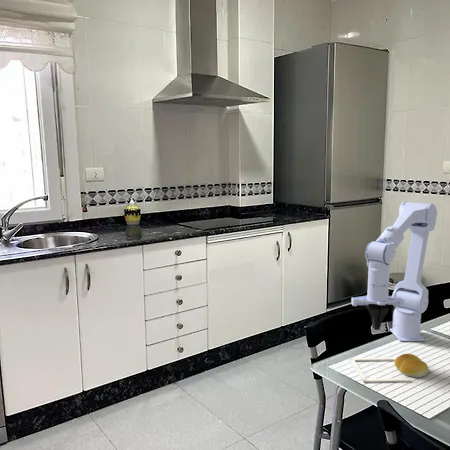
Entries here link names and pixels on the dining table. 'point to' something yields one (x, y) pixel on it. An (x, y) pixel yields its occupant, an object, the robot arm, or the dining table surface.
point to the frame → (375, 379)
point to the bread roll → (411, 365)
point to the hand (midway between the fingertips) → (376, 328)
